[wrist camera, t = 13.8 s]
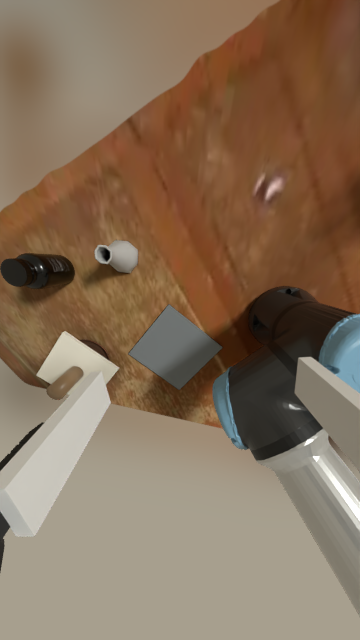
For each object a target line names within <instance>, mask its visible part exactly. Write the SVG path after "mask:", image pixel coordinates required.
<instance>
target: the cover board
mask: <svg viewBox="0 0 360 640" xmlns="http://www.w3.org/2000/svg"><path fill="white" fill-rule="evenodd" d="M118 369H119V367H118V366H116V365H115V364H113V363H112V362H110V361H109V360H107V359H106V358H104V357H103V356H101V355H100V354H98V353H97V352H95V351H94V350H92V349H91V348H89V347H88V346H87V345H85V344H84V343H82V342H81V341H79V340H78V339H76V338H75V337H73V336H72V335H70V334H69V333H67V332H66V331H64V332H63V333H62V334H61V336H60V338H59V339H58V341H57V342H56V344H55V346H54V347H53V349H52V351H51V352H50V354H49V355H48V357H47V359H46V360H45V362H44V363H43V365H42V367H41V368H40V370H39V372H38V373H37V376H38V377H40V378H42V379H43V380H45V381H47V382H48V383H50V384H51V385H50V386H49V387H48V388H47V394H48V395H49V396H50V397H51V398H53V399H55V400H60V399H62V398H63V397H64V396H65V395H66V394H68V395H70V394H71V393H72V392H73V391H74V390H75V389H76V388H77V387H78V386H79V385H80V383H81V382H82V381H83V380H84V379H85V378H86V377H87V376H88V375H89V374H90V373H91V372H95V371H102V374H103V378H104V381H105V385H106V384H107V383H108V381H109V380H110V379H111V378H112V377H113V375H114V374H115V373H116V372H117V370H118Z"/></svg>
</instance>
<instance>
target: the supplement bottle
mask: <svg viewBox="0 0 360 640" xmlns="http://www.w3.org/2000/svg"><path fill="white" fill-rule="evenodd" d="M0 267H1V268H0V270H1V273H2V276H3V278H4V279H5V280H6V281H7V282H8V283H9V284H11V285H13V286H17V287H18V286H19V287H21V286H26V287H29V288H32V289H43V288H48V287H54V286H59V285H65V284H68V283H70V282H71V281H72V280H73V278H74V275H75V271H74V267H73V265H72V263H71V262H70V261H69V260H68V259H67V258H66V257H64V256H61V255H52V254H34V253H25V254H21V255H19V256H18V257H17V258H15V259H6V260H4V261H3V262H2V264H1V266H0Z"/></svg>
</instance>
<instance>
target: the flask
mask: <svg viewBox="0 0 360 640" xmlns="http://www.w3.org/2000/svg"><path fill="white" fill-rule="evenodd" d="M95 259H96V260H97V261H99V262H100V263H102V264H110V265H111V266H112V267H113V268H115V269H116V270H117V271H118V272H124V273H131V272H132V270H133V269H134V268H135V267H136V265H137V264H138V250H137V249H136V248H135V247H134V246H133V245H132V244H131V243H130V242H128V241H121V240H115V241H114V242H113V243H112V244H111V245H110V246H109V247H107V246H104V245H98V246H97V248H96V249H95Z"/></svg>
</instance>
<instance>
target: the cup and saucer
mask: <svg viewBox="0 0 360 640" xmlns="http://www.w3.org/2000/svg"><path fill="white" fill-rule="evenodd" d="M79 341H81V342H82V343H84V344H85V345H87V346H88V347H89V348H91V349H92V350H94V351H95V352H97V353H98V354H100V355H101V356H103V357H104V358H106V359H107V360H109V361H110V358H109V355H108V353H107V351H106V350H105V349H104V348H103V347H102V346H101V345H100V344H98V343H96V342H94V341H91V340H79Z"/></svg>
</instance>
